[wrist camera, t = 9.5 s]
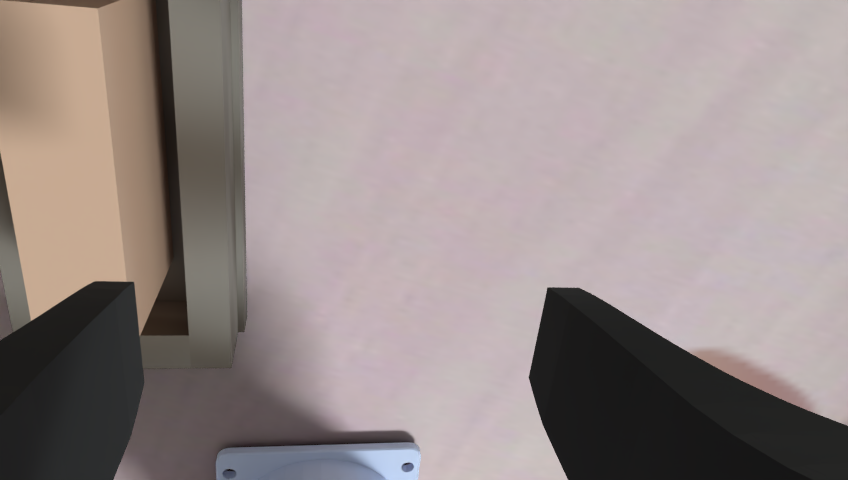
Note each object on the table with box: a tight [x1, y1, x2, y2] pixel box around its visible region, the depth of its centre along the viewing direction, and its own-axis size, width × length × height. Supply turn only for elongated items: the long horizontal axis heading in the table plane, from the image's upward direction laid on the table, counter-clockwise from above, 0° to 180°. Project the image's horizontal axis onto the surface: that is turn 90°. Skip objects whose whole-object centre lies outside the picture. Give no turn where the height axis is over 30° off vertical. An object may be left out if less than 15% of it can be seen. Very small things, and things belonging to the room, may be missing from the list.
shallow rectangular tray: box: [0, 0, 247, 369], centre depth 18 cm, size 12×6×3 cm, turn 174°
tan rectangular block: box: [0, 0, 174, 335], centre depth 16 cm, size 8×2×5 cm, turn 174°
